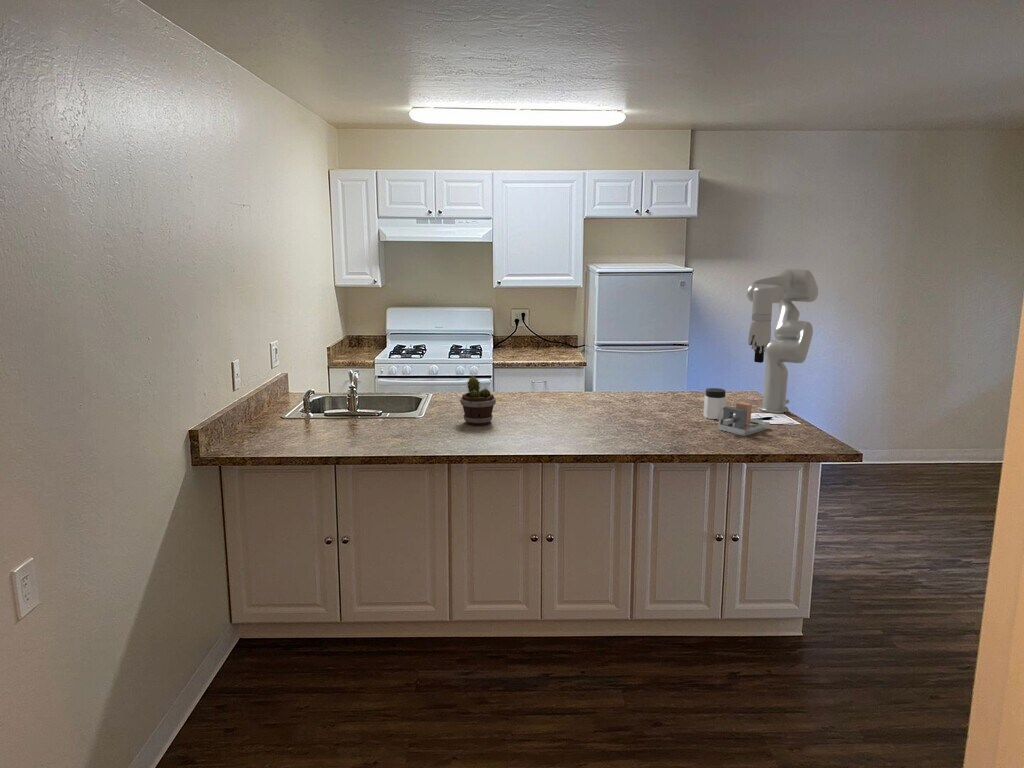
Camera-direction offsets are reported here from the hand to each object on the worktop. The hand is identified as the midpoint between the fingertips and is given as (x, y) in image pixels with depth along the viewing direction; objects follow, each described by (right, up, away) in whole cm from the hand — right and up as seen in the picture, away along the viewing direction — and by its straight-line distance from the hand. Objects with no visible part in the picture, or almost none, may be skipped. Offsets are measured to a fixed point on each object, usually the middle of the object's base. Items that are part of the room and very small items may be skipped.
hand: (758, 362), depth 296 cm
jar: (-15, -23, +13) cm, 31 cm away
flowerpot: (-115, -25, +2) cm, 118 cm away
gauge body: (-8, -27, -6) cm, 29 cm away
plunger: (-12, -26, -11) cm, 30 cm away
